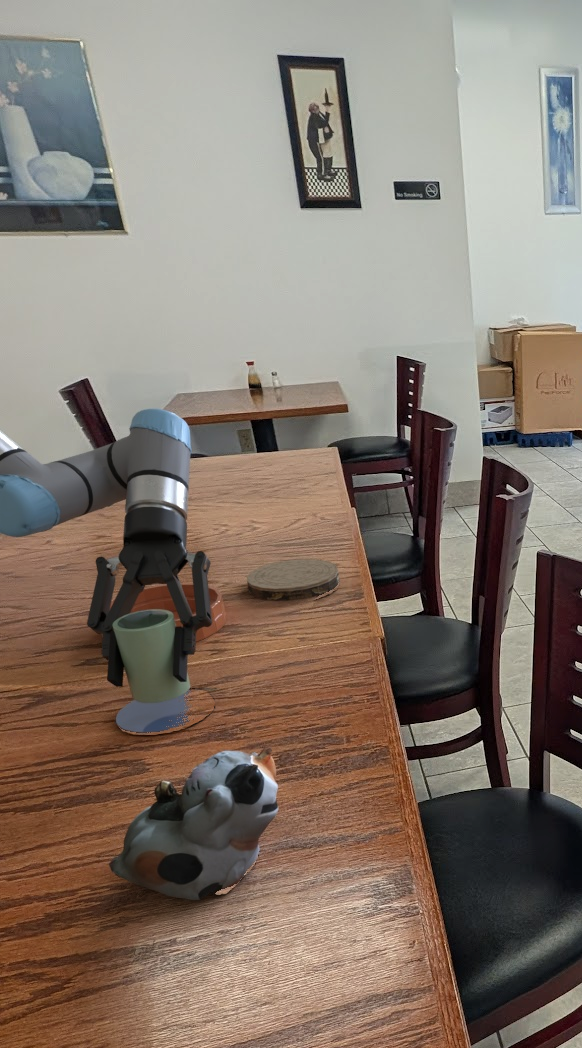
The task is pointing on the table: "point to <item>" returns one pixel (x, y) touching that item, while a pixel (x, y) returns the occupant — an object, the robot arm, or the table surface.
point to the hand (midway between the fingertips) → (147, 680)
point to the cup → (149, 655)
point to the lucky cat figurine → (202, 827)
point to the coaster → (153, 715)
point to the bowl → (162, 600)
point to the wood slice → (293, 579)
